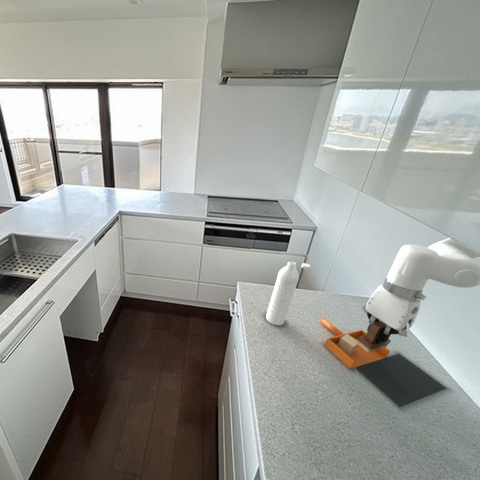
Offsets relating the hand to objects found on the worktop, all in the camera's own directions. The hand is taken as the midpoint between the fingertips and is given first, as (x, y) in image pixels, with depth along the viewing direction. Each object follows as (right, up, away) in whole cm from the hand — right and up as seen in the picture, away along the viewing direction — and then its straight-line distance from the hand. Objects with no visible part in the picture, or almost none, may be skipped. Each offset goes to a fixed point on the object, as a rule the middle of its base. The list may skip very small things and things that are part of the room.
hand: (375, 337), depth 78 cm
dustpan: (-3, -5, +10) cm, 12 cm away
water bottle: (-22, -1, +18) cm, 28 cm away
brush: (0, -3, +1) cm, 3 cm away
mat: (+5, -11, -2) cm, 13 cm away
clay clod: (-4, -6, +7) cm, 10 cm away
